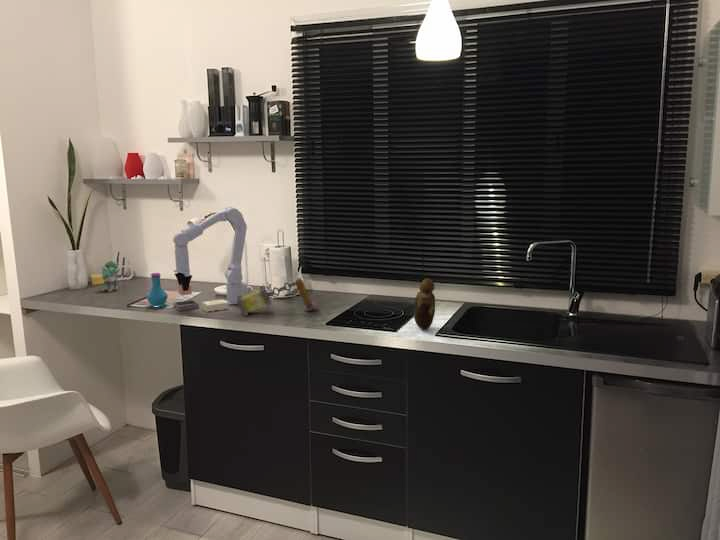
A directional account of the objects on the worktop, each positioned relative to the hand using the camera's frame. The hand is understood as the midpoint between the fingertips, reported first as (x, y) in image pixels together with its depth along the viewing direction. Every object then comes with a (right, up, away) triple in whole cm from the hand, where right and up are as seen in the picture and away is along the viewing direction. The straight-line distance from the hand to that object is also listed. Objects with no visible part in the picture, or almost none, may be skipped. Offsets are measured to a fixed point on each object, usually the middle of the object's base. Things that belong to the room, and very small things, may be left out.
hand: (184, 289), depth 280 cm
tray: (0, -8, +2) cm, 8 cm away
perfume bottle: (-14, -8, +6) cm, 17 cm away
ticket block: (+14, -9, -2) cm, 17 cm away
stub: (0, -2, 0) cm, 2 cm away
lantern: (+43, -10, -8) cm, 45 cm away
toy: (-48, -2, +40) cm, 62 cm away
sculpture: (+104, -14, -37) cm, 112 cm away
